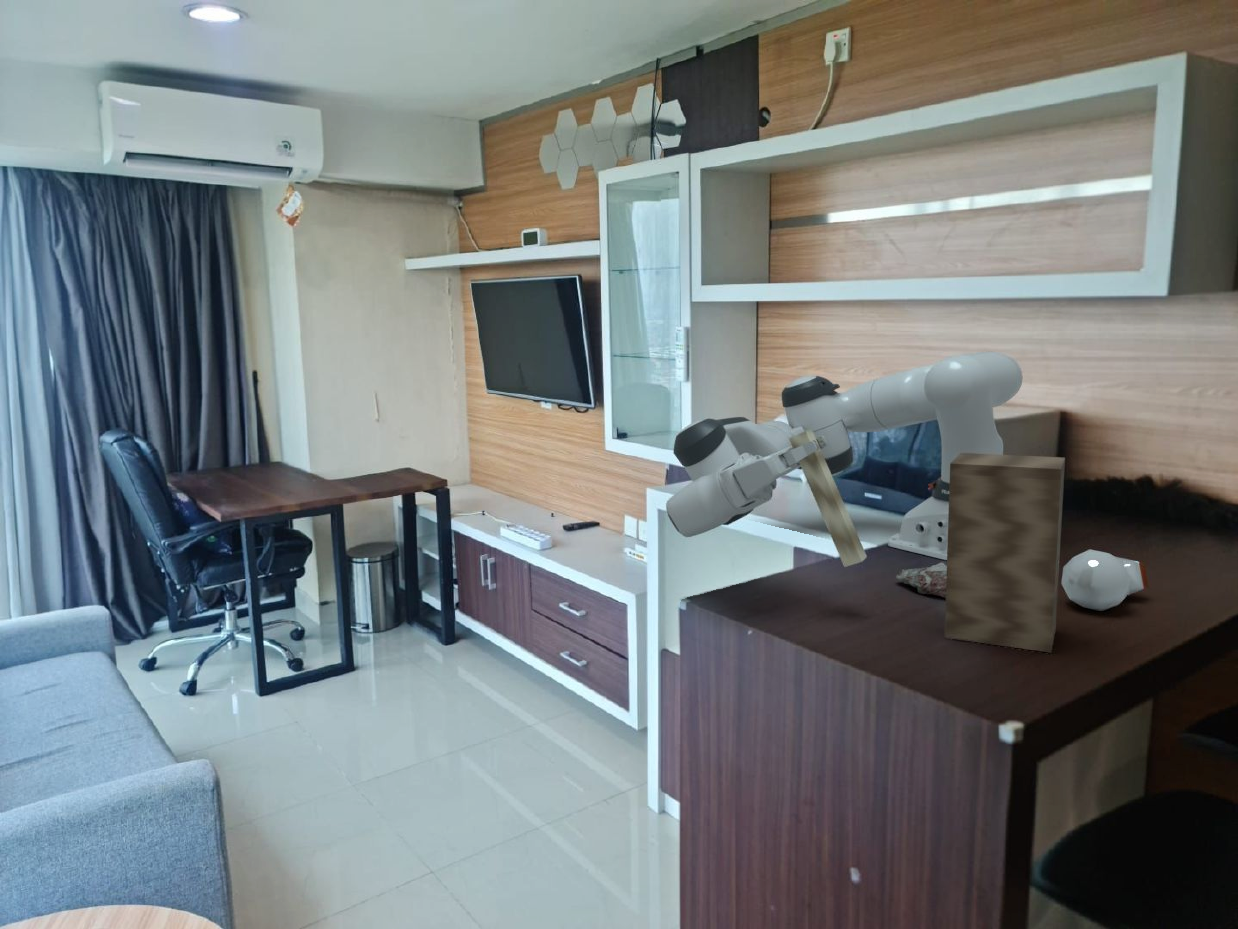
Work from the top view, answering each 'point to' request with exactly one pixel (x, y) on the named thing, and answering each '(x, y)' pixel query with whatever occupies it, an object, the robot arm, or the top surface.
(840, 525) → the birch bar
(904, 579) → the mineral rock
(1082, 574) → the potion bottle
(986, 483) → the walnut block
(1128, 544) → the top surface
